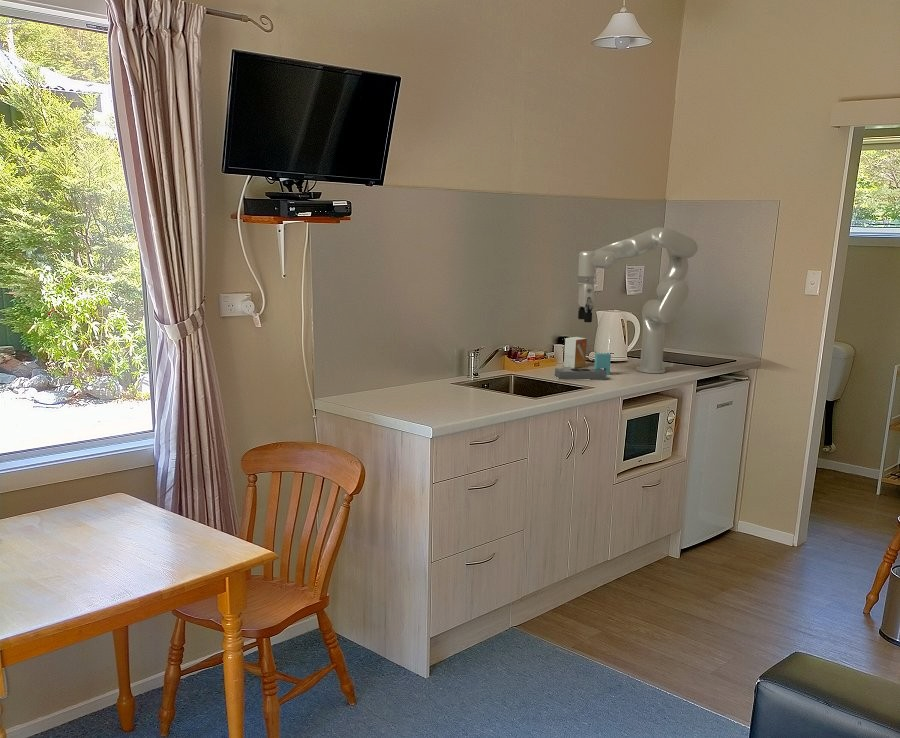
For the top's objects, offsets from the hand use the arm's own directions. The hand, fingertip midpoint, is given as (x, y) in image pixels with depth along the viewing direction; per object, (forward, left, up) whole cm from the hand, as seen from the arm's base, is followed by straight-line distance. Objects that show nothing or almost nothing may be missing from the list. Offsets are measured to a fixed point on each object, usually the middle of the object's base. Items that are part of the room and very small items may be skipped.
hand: (584, 320), depth 344 cm
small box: (-1, -15, -23) cm, 27 cm away
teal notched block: (-8, +3, -23) cm, 24 cm away
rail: (+4, +12, -23) cm, 26 cm away
